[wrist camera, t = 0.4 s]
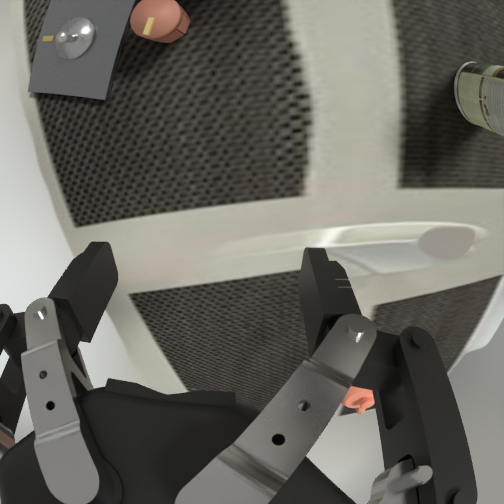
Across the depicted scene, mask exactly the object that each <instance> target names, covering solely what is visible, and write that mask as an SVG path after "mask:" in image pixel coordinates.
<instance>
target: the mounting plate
mask: <svg viewBox="0 0 504 504" xmlns="http://www.w3.org/2000/svg"><path fill="white" fill-rule="evenodd" d="M138 2H139V0H51V2H50V5H49V8H48V11H47V14H46V17H45V20H44V23H43V26H42V30H41V33H40V37H39V41H38V45H37V49H36V53H35V57H34V62H33V67H32V72H31V77H30V83H29V89H28V92H39V93H52V94H62V95H71V96H79V97H87V98H94V99H101V100H108V99H109V98H110V93H111V89H112V85H113V81H114V77H115V73H116V69H117V65H118V62H119V58H120V55H121V51H122V48H123V45H124V42H125V38H126V35H127V32H128V29H129V26H130V18H131V14H132V12H133V10H134V8H135V7H136V6H137V4H138Z"/></svg>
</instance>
